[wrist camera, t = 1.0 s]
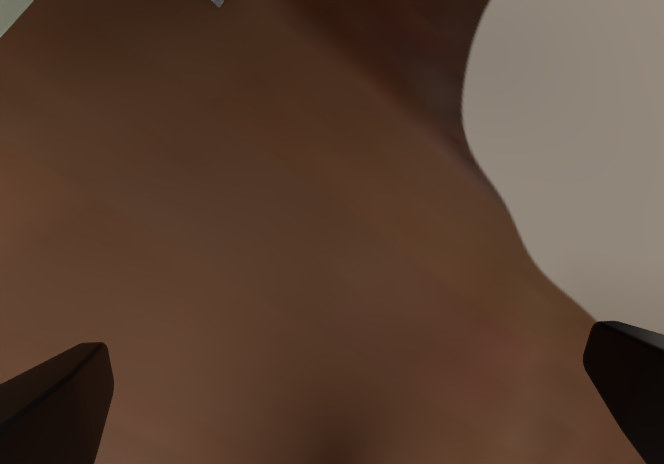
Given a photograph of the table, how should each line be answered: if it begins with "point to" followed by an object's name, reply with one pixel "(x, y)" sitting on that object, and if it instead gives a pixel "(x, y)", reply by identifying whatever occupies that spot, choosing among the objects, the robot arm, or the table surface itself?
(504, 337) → the table surface
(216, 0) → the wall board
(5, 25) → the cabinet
